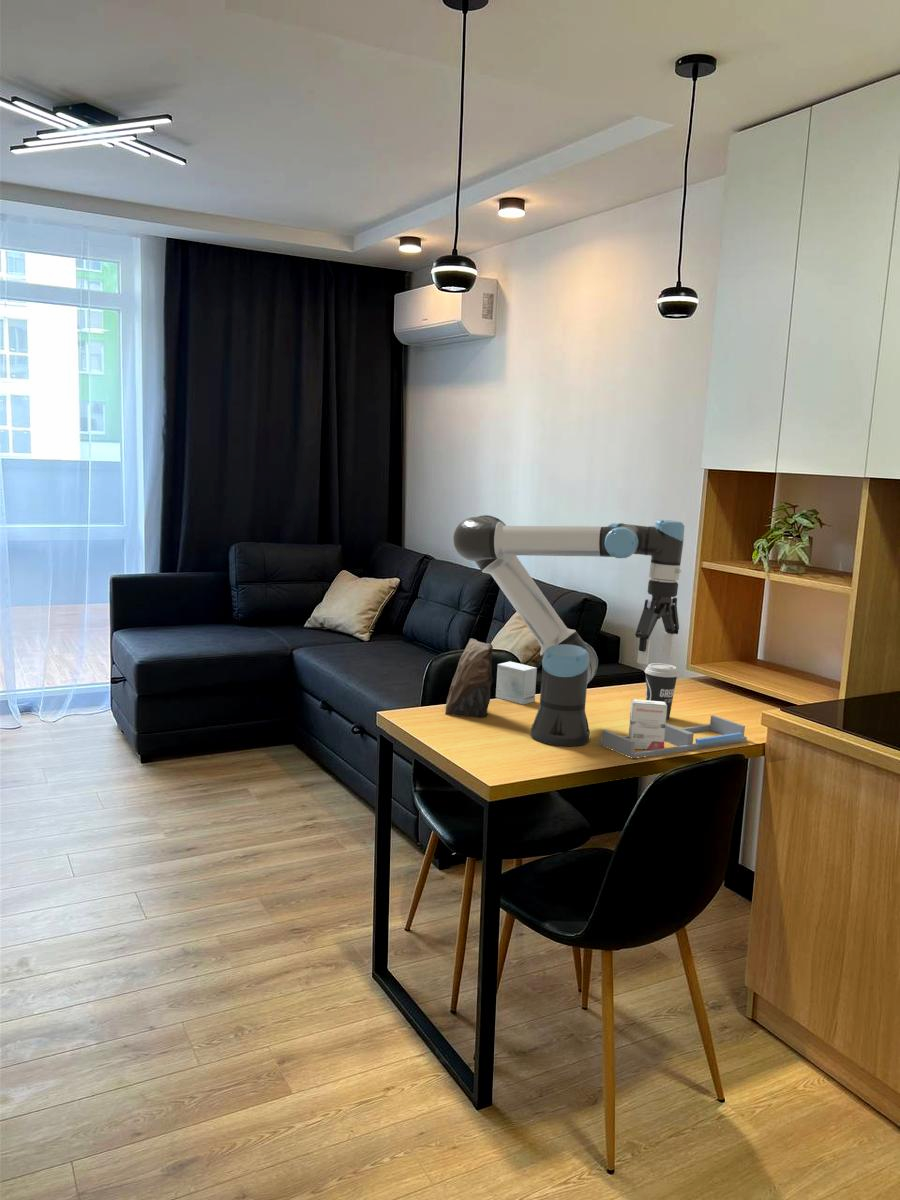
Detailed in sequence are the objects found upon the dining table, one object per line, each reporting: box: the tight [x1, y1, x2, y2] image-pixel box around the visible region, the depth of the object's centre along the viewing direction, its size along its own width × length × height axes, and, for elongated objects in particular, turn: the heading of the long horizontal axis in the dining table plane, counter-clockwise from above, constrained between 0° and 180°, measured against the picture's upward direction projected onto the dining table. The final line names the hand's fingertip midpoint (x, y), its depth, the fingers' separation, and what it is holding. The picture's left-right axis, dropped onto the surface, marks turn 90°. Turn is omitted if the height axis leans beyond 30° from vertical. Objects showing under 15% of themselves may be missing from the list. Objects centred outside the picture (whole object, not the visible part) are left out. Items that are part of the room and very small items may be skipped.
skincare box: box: [495, 660, 538, 705], centre depth 274 cm, size 10×6×10 cm, turn 48°
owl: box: [444, 638, 494, 719], centre depth 256 cm, size 13×13×20 cm
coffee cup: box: [644, 662, 680, 721], centre depth 262 cm, size 10×10×15 cm
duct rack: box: [597, 714, 748, 759], centre depth 238 cm, size 40×13×4 cm, turn 121°
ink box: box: [628, 698, 667, 751], centre depth 233 cm, size 9×5×12 cm, turn 84°
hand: (654, 660), depth 241 cm, fingers open, 13 cm apart
